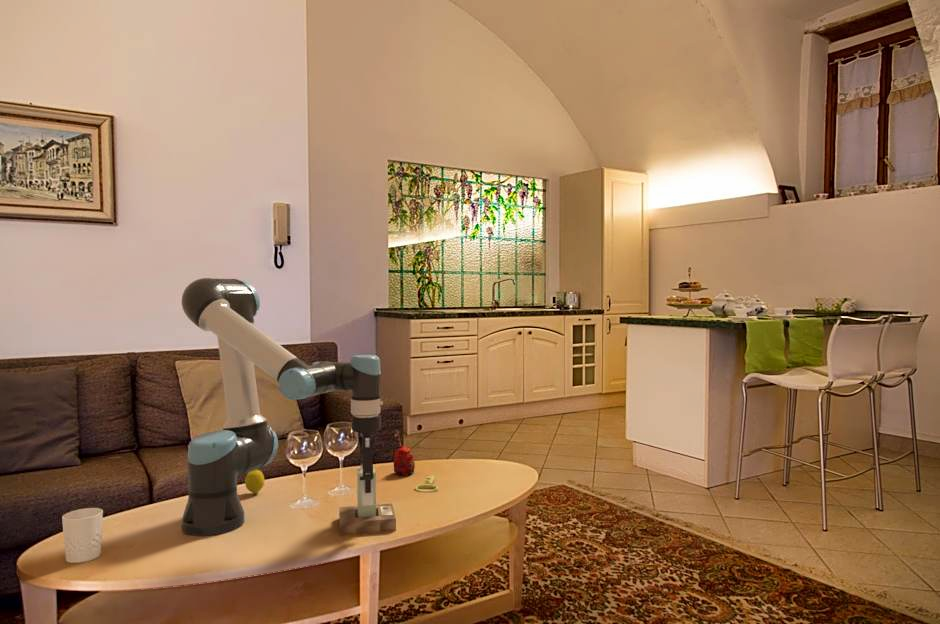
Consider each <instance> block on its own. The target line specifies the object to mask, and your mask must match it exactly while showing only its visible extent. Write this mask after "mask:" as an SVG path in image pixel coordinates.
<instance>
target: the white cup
mask: <svg viewBox="0 0 940 624" xmlns="http://www.w3.org/2000/svg"><path fill="white" fill-rule="evenodd" d="M61 519H62V521H61V522H62V534H63V546H64V550H65V560H66V562H67V563H69V564H70V563H71V564H79V563H86V562H89V561H92V560H94V559H96V558H98V557H99V556H100V555H101V554H102V539H103V523H104V522H103V519H104V510H103V509H102V508H99V507H86V508H80V509H76V510H71V511H69V512H66V513H64V514H63V515H62V516H61Z"/></svg>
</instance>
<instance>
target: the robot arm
mask: <svg viewBox="0 0 940 624" xmlns="http://www.w3.org/2000/svg"><path fill="white" fill-rule="evenodd" d="M260 303H261V300H260V296H259V293H258V291H257V289H256V288H255V287H254V286H253V285H252V284H251V283H249V282H248V281H245V280H243V279H238V278H211V277H203V278H199V279H196V280H193V281H192V282H191V283H189V284H188V285H187V286H186V287H185V289H184V291H183V293H182V296H181V307H182V310H183V312H184V314H185V316H186V317H187V318H188V320H190V321H191V322H192V323H193V324H194V325H195V326H197V327H198V328H199V329H201V330H202V331H204V332H211V333H213V334H214V335H216V337H217V345H218V351H219V352H218V353H219V359H220V360H219V361H220V368H221V375H222V383H223V391H224V398H225V408H226V414H227V415H226V417H227V419H226V422H224V425H223V426H222V430H221V429H220V430H213V431H211V432H210V431H209V432H204V433H201V434H199V435H198V436H195V437H193V439H191V441H189V443H188V447H187V450H188V452H187V457H186V459H187V481H188V482H187V483H188V486H187V487H188V497H187V498H188V499H187V502H186V505H185V509H184V512H183V515H182V518H181V524H180V527H181V531H182V532H183V533H184V534H186V535H190V536H211V535H218V534H222V533H223V534H224V533H227V532H230V531H233V530H235V529H237V528H240V527H241V526H243V524H245V521H246V520H245V510H244V508H243V504H242V502H241V499H240V497H239V494H238V477H240V476H243V475H245V474H248V473H249V472H251V471H253V470H260V469H262V468H263V467H265V466H267V465H268V464H270V463H271V462H273V459H275V458H276V455H277V452H278V450H279V449H278V448H279V440H278V436H277V433H276V432H275V430H273V428H272V427H271V426H269V425H268V421H267V420H268V419H267V418H266V417H264V416H263V415H262V414H261V410H260V403H259V396H258V395H259V394H258V388H257V381H256V373H255V366H256V367H258V368H259V369H260V370H262V371H263V372H264V373H266V375H268V376H269V377H271V378H272V379H274V380H275V382H277V383H278V389H279V391H280V393H281V395H282V396H283V397H284V398H286V399H288V400H290V401H292V400H293V401H295V400H296V401H297V400H305V399H308V398H310V397H315V396H317V395H323V394H325V393H326V394H327V393H329V392H334V391H335V392H350V396H351V397H350V398H351V399H350V414H351V415H352V416H351V418H350V419H351V427H350V428H351V430H352V431H353V432H355V433H360V436H358V438H357V439H358V440H357V441H358V446H359V447H358V448H359V454H360V456H359V459H360V460H359V462H360V468H359V469H363V477H360V480H362V506H367V505H373V478H374V475H373V468H374V463H373V462H374V459H373V457H374V456H373V455H374V453H375V449H374V446H375V436H374V435H372V433H374V432H378V431H380V430H381V428H382V427H381V426H382V419H381V417H382V416H381V415H380V413H381V406H383V405H384V402H383V401H382V400H381V375H382V372H381V361H380V360H381V359H380V357H379V356H377V355H375V354H357V355H353V356H351V358H350V362H338V361H326V360H324V361H315V362H312V364H311V365H308V364H307V363H305V362H303V360H300V359H299V358H298V357H297V356H296V355H294V354H292V353H291V352H290V351H288V350H287V349H286V348H285V347H283V346H282V345H280V344H279V343H278V342H276V340H274V339H273V338H272V337H270V336H268V335H267V334H266V333H264V331H262V330H260V329H259V328H258V327H257V326H255V320H254V319H255V318H254V317H255V316H257V314H258V311H259V309H260V305H261V304H260ZM366 473H370V474H366Z"/></svg>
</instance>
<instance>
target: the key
mask: <svg viewBox="0 0 940 624" xmlns="http://www.w3.org/2000/svg"><path fill="white" fill-rule="evenodd" d="M435 479H436V476H435V475H431V476H426V480H428V481H427V482H426V483H424V484H423V483H422V484H417V485H415V486H414V491H415V490H416V491H415V492H418V491H419V493H435V492H438V491H439V487H438V485H435V484H433V482H434V481H435ZM418 488H419V489H418ZM432 488H433V489H432ZM425 489H426V490H425ZM427 489H428V490H427ZM429 489H430V490H429Z"/></svg>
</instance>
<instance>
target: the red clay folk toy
mask: <svg viewBox="0 0 940 624" xmlns="http://www.w3.org/2000/svg"><path fill="white" fill-rule="evenodd" d="M395 431H396V432H394V438H397V437H398V442H399V446H398V448H397V450H396V451H395V454H394V457H393V472H395V474H396V475H397V476H402V477H407V476H409V475H412V474H414V473H415V468H416V463H415V458H414V455H413V453H412V452H411V449H410V448H409V447H408V446H403V445H402V443H401V439H400V435H399V433H401V432H402V431H401V430H400V431H398V430H397V429H395Z"/></svg>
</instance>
